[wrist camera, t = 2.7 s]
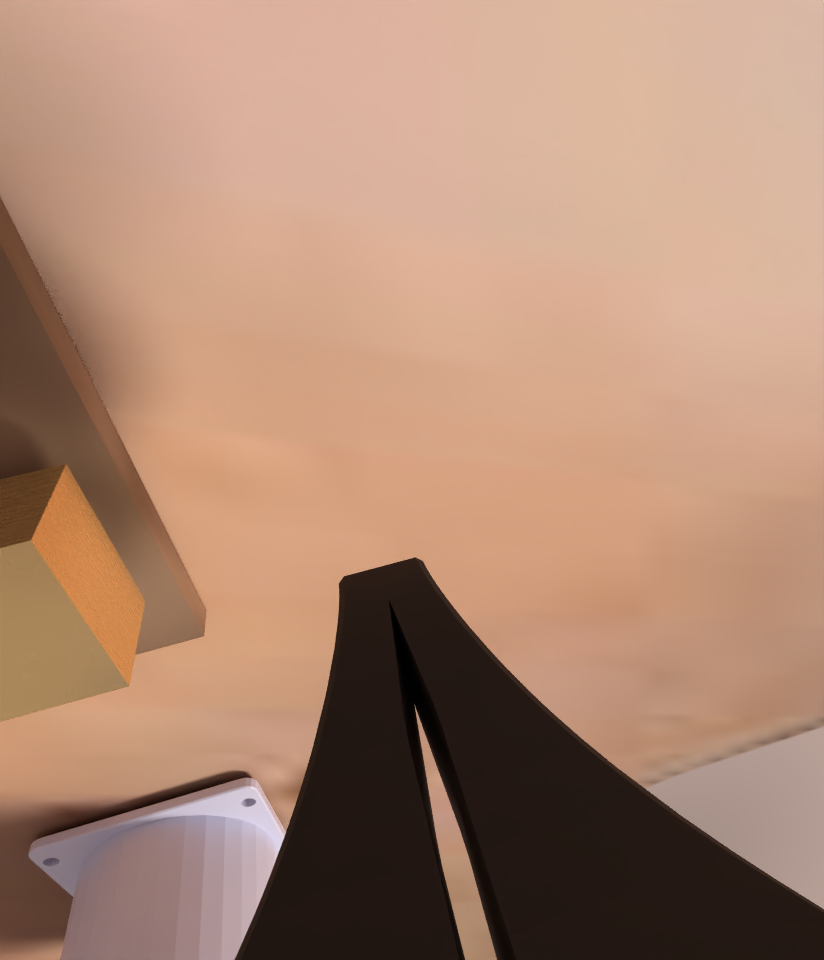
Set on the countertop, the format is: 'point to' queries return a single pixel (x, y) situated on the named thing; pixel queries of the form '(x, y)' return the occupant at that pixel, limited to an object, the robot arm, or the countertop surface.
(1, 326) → the gauge board
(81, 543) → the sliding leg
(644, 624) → the countertop surface
